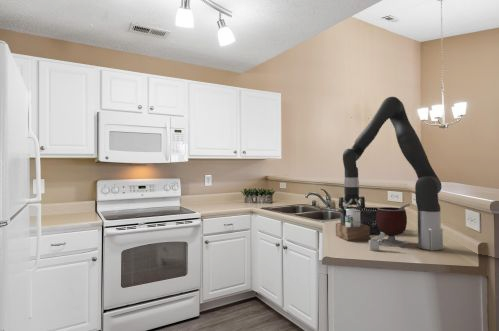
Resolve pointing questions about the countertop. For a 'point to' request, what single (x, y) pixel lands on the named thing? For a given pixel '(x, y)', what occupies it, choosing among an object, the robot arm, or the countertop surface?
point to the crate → (353, 232)
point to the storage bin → (366, 218)
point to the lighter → (376, 242)
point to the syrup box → (352, 218)
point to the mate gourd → (391, 223)
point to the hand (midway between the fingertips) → (352, 216)
